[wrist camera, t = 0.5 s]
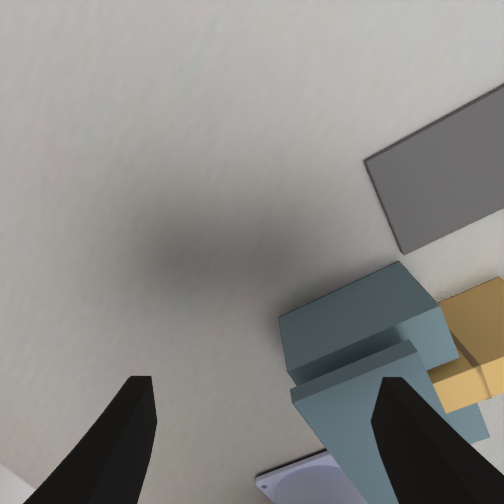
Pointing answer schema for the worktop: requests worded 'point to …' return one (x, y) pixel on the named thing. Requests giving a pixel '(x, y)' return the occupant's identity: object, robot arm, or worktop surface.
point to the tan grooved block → (473, 347)
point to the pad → (443, 173)
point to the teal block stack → (368, 367)
